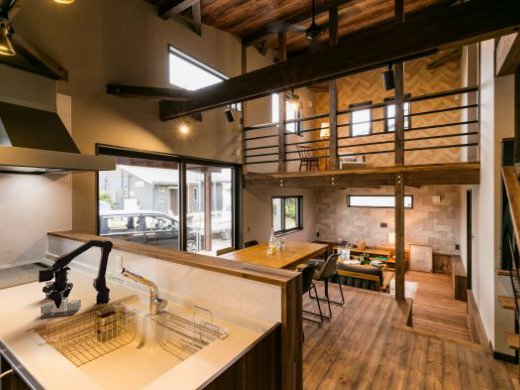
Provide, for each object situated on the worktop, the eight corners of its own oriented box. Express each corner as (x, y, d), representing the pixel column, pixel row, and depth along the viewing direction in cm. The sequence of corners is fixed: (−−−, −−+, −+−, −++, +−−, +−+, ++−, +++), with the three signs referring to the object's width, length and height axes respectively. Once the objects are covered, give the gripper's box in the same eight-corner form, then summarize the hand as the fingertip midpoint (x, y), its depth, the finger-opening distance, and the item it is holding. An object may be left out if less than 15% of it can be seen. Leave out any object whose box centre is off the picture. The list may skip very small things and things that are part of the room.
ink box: (45, 299, 179) (45, 281, 179) (48, 296, 184) (48, 279, 183) (60, 297, 181) (60, 280, 181) (63, 295, 186) (63, 278, 186)
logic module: (68, 307, 163) (68, 296, 163) (64, 311, 157) (64, 300, 157) (58, 308, 162) (58, 297, 161) (54, 312, 156) (53, 301, 156)
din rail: (82, 306, 168) (82, 297, 167) (75, 314, 156) (74, 304, 156) (48, 309, 163) (48, 300, 163) (38, 319, 151) (37, 308, 151)
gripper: (52, 275, 166) (52, 300, 166) (36, 285, 148) (36, 313, 148) (73, 273, 169) (73, 298, 169) (60, 283, 151) (60, 311, 151)
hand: (61, 305), depth 159 cm, fingers open, 8 cm apart
